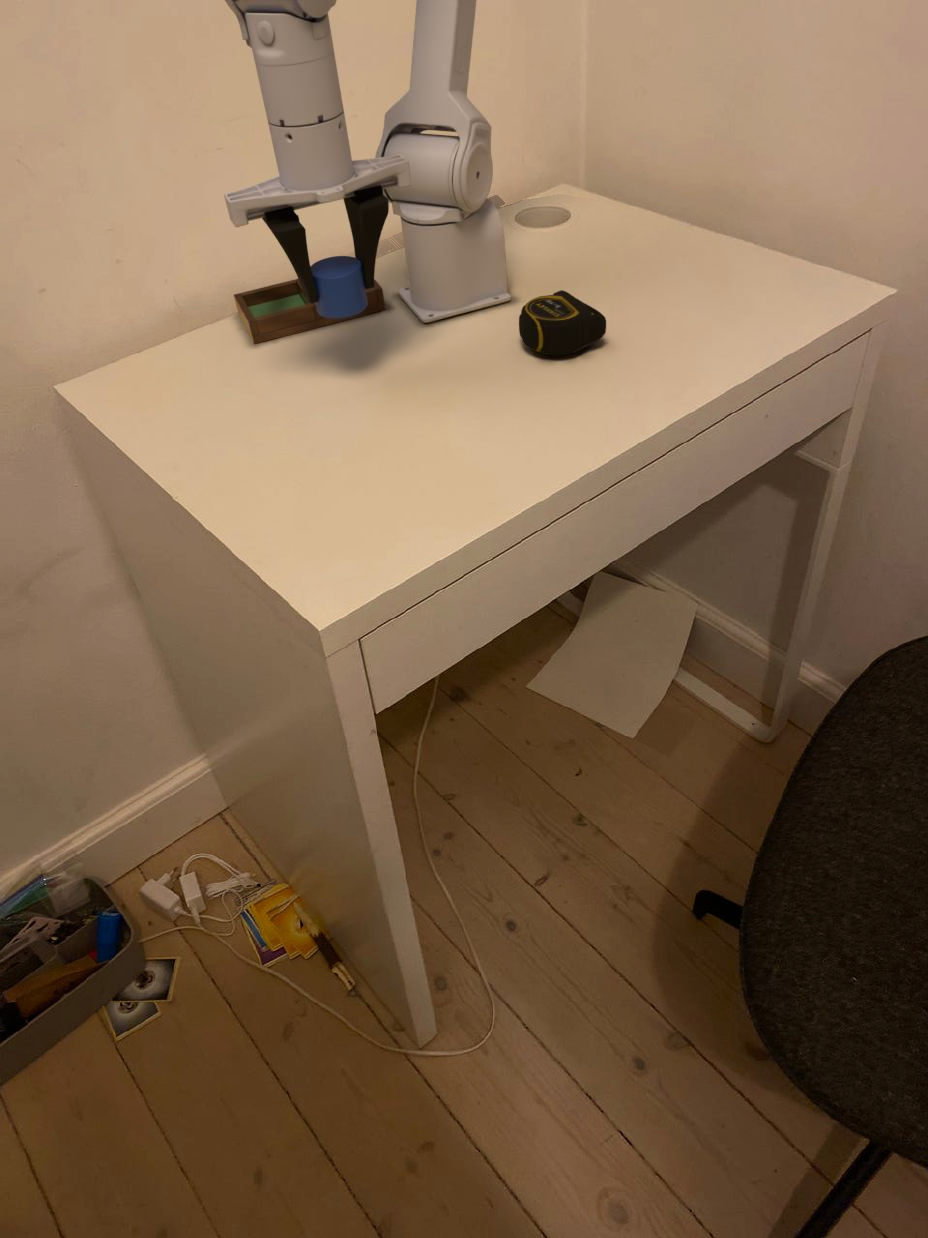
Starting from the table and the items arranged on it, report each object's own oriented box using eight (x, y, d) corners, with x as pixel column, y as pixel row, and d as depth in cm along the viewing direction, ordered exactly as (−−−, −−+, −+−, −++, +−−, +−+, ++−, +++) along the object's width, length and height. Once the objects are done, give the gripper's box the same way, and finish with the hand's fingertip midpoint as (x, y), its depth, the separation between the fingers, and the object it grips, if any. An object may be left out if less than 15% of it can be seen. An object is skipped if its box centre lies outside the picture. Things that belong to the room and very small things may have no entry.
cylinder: (358, 290, 81) (351, 251, 79) (374, 309, 78) (368, 269, 76) (310, 303, 80) (302, 263, 78) (325, 323, 77) (316, 282, 75)
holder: (364, 283, 99) (360, 262, 97) (385, 309, 94) (382, 287, 92) (239, 315, 96) (233, 294, 94) (254, 344, 91) (248, 322, 89)
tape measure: (609, 348, 84) (610, 309, 82) (545, 371, 82) (544, 331, 80) (568, 320, 89) (568, 282, 86) (506, 341, 87) (504, 303, 84)
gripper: (221, 150, 65) (267, 332, 74) (415, 107, 68) (435, 287, 77) (202, 125, 70) (247, 298, 79) (383, 86, 73) (406, 257, 82)
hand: (338, 291), depth 78 cm, fingers closed on cylinder, 4 cm apart
